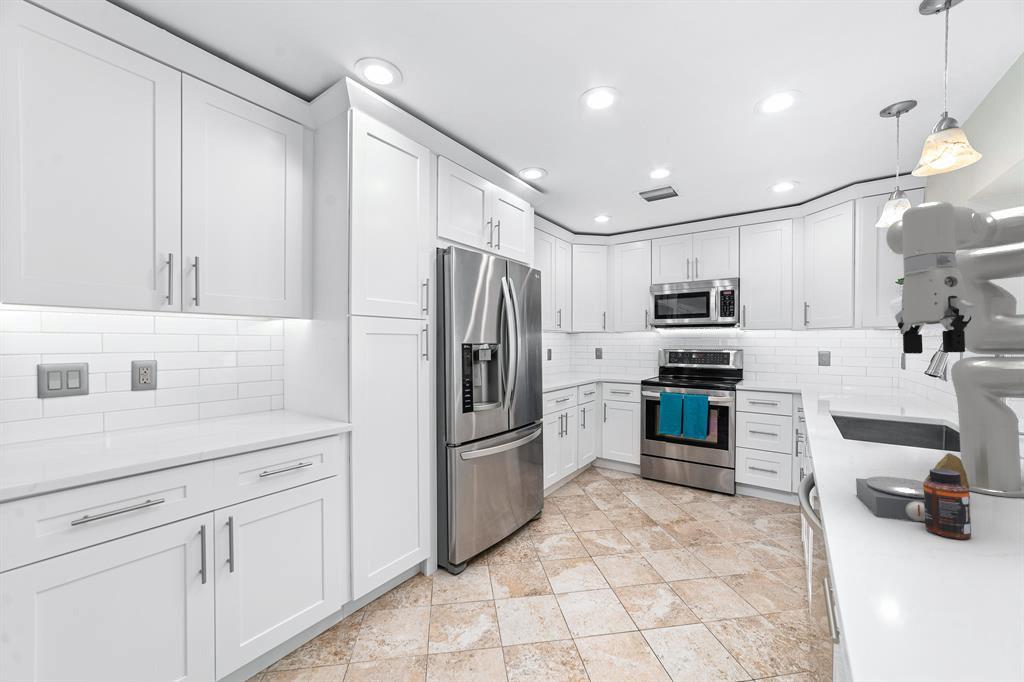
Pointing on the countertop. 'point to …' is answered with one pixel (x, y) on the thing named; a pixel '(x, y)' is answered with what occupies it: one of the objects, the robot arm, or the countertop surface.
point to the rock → (953, 467)
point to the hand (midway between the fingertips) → (932, 352)
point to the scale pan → (897, 486)
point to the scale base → (890, 503)
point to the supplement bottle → (947, 505)
